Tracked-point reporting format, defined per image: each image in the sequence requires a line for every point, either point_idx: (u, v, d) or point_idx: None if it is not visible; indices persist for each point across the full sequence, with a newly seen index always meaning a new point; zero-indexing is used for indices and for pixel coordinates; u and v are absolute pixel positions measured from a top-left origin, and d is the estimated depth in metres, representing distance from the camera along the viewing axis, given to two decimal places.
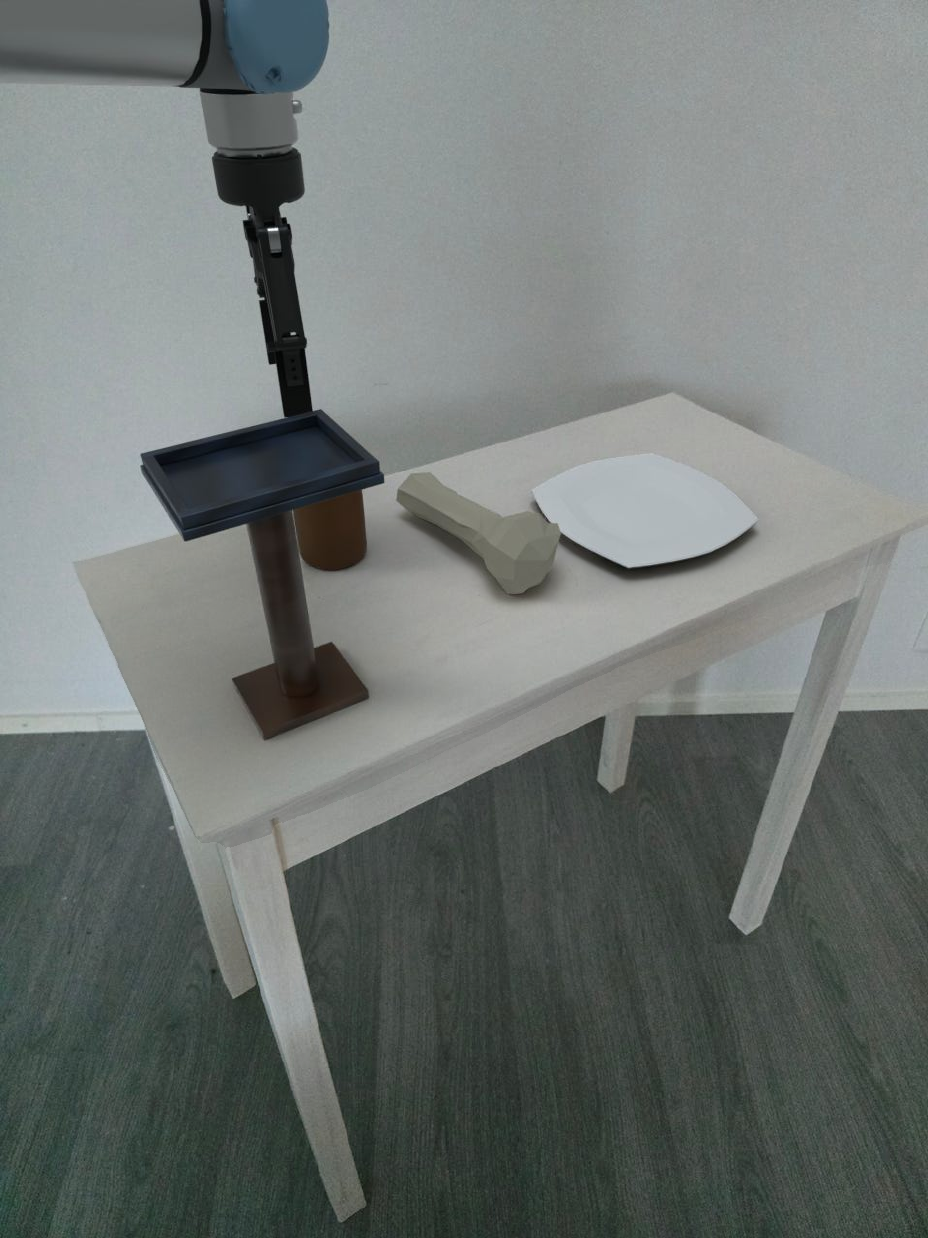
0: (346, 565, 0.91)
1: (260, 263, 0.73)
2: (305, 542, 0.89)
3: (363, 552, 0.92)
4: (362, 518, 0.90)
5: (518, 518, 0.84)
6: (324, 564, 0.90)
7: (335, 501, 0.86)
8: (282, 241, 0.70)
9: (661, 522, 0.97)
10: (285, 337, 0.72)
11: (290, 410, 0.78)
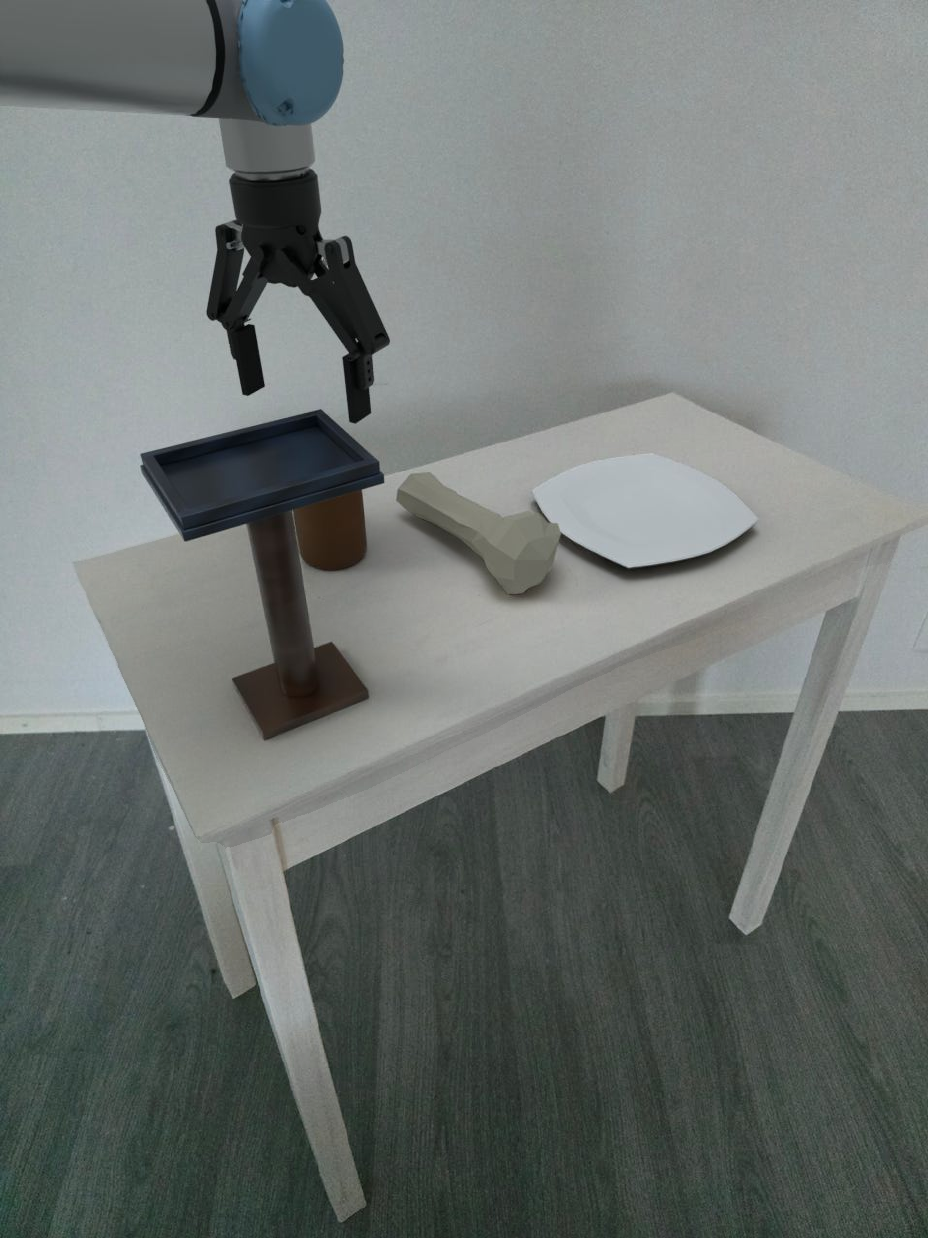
0: (346, 565, 0.91)
1: (310, 280, 0.74)
2: (305, 542, 0.89)
3: (363, 552, 0.92)
4: (362, 518, 0.90)
5: (518, 518, 0.84)
6: (324, 564, 0.90)
7: (335, 501, 0.86)
8: (349, 251, 0.73)
9: (661, 522, 0.97)
10: (375, 339, 0.75)
11: (358, 415, 0.81)
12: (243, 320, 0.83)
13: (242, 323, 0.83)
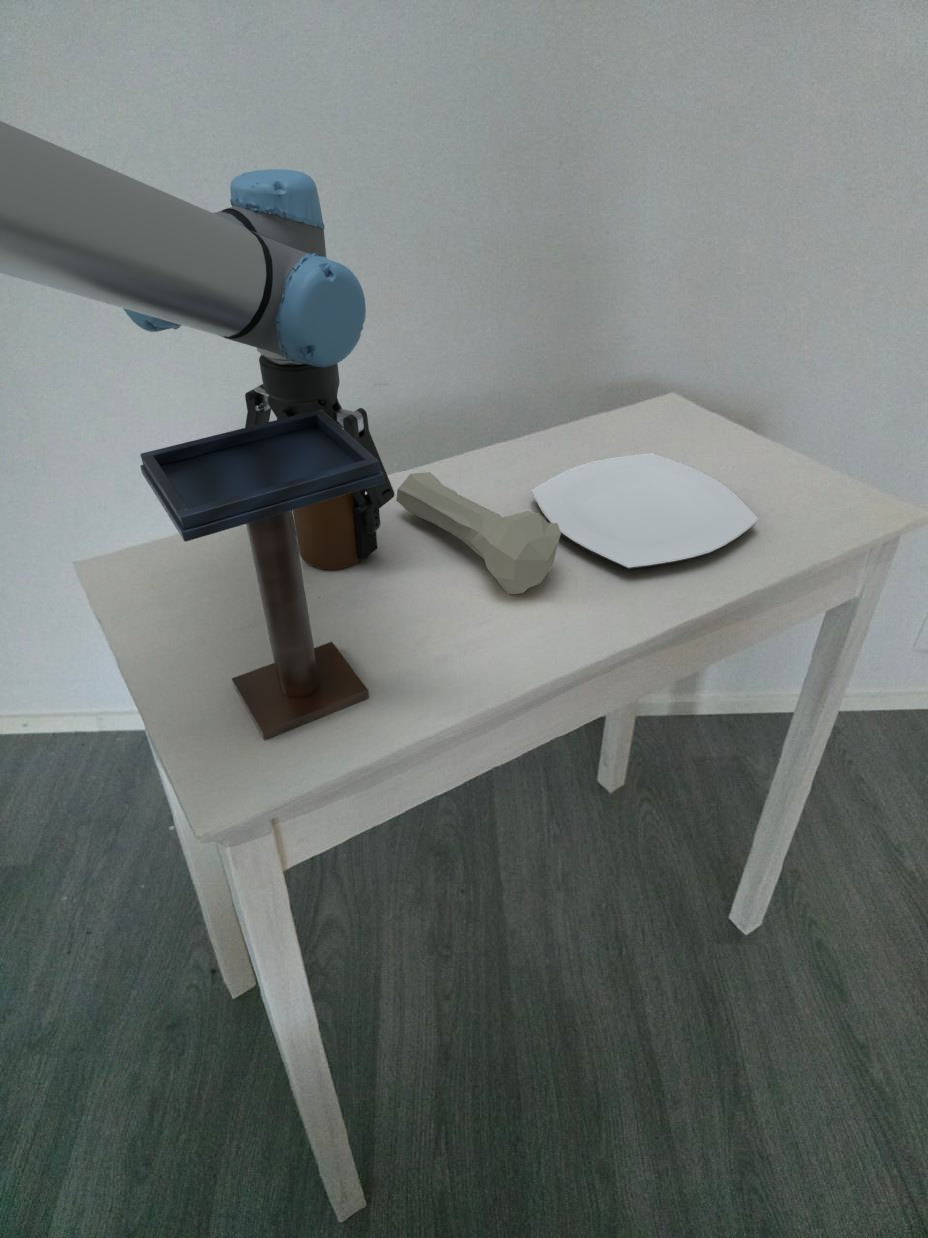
0: (346, 565, 0.91)
1: None
2: (305, 542, 0.89)
3: None
4: None
5: (518, 518, 0.84)
6: (324, 564, 0.90)
7: (335, 501, 0.86)
8: (364, 422, 0.83)
9: (661, 522, 0.97)
10: (382, 495, 0.85)
11: (366, 552, 0.91)
12: None
13: None
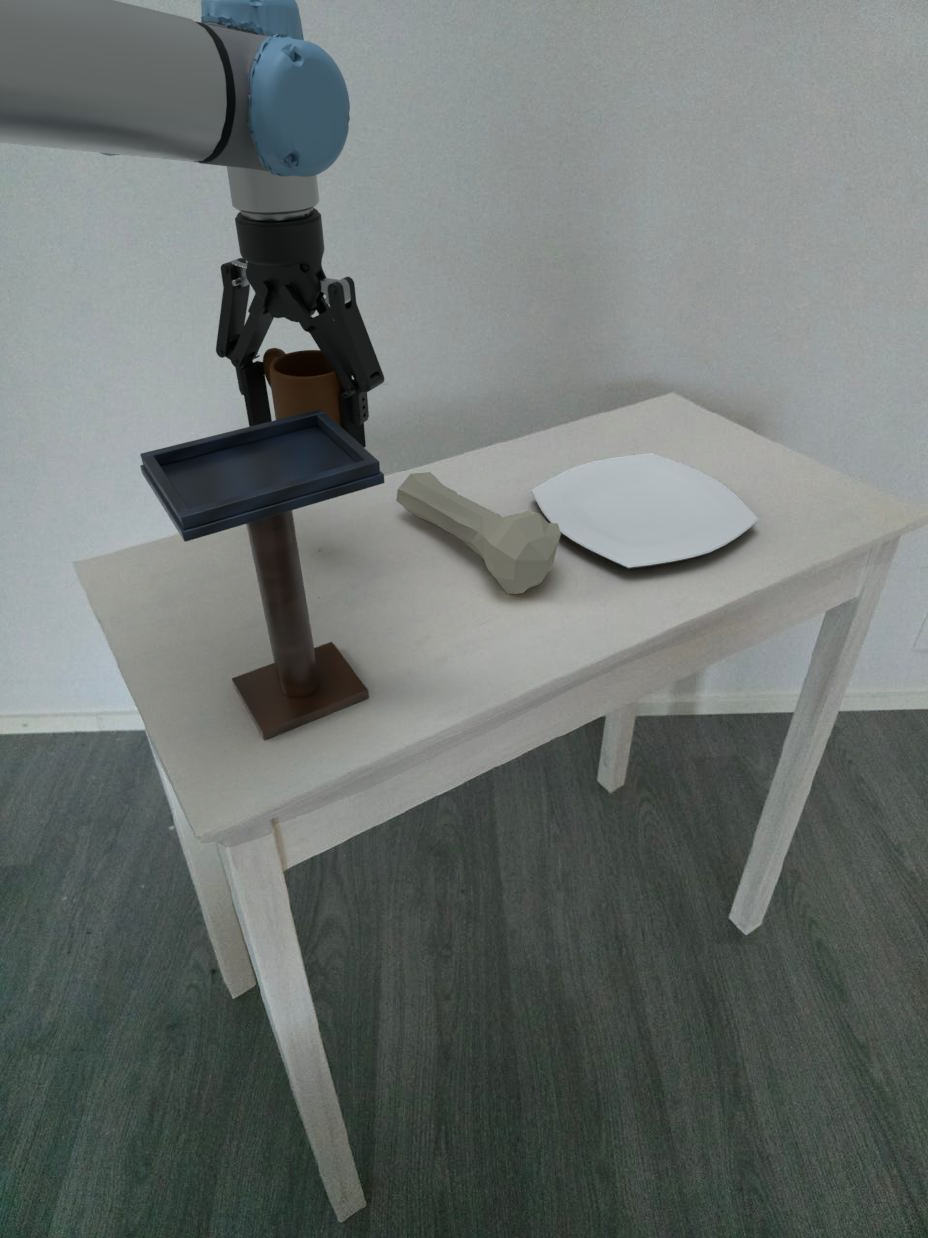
0: None
1: (311, 318, 0.76)
2: None
3: None
4: None
5: (518, 518, 0.84)
6: None
7: (319, 384, 0.78)
8: (351, 292, 0.75)
9: (661, 522, 0.97)
10: (370, 378, 0.78)
11: None
12: (252, 357, 0.85)
13: (251, 360, 0.85)
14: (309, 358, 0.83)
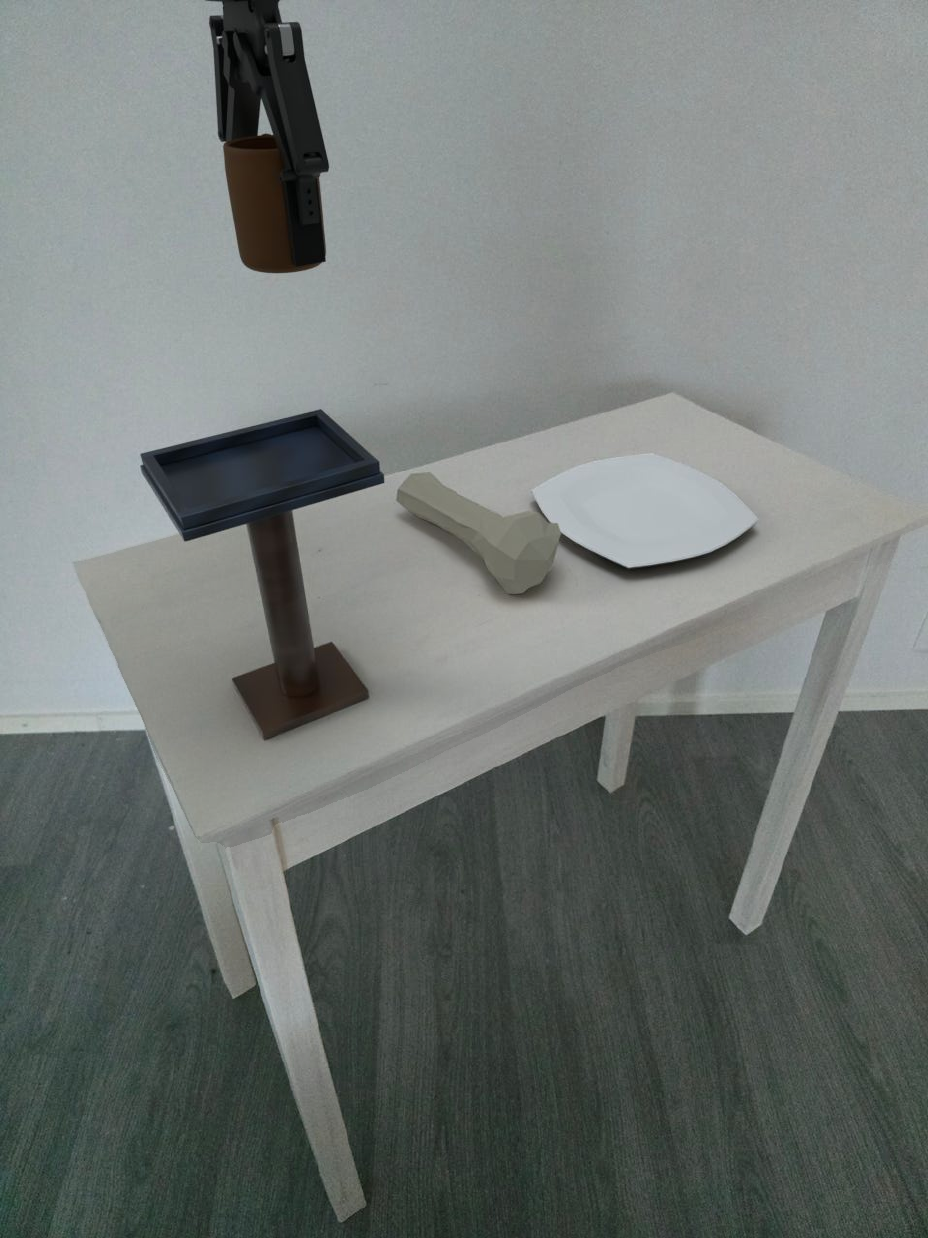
0: (277, 269, 0.71)
1: (259, 76, 0.64)
2: (235, 226, 0.71)
3: None
4: None
5: (518, 518, 0.84)
6: (250, 260, 0.71)
7: (257, 161, 0.66)
8: (295, 41, 0.61)
9: (661, 522, 0.97)
10: (306, 158, 0.64)
11: (302, 257, 0.70)
12: None
13: None
14: None
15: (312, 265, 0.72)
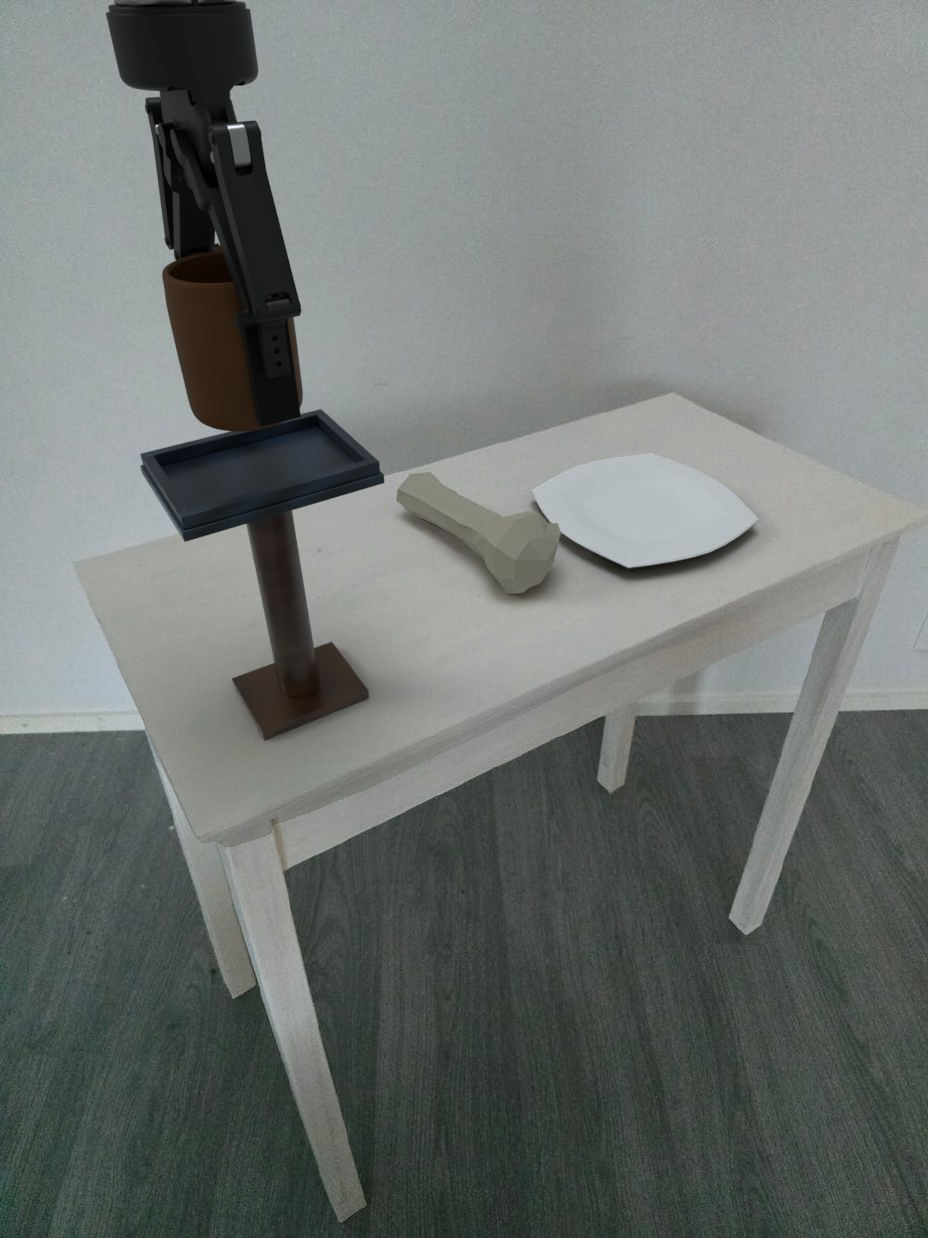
0: (236, 427, 0.54)
1: (206, 188, 0.47)
2: None
3: None
4: None
5: (518, 518, 0.84)
6: (202, 415, 0.54)
7: (205, 298, 0.49)
8: (252, 147, 0.44)
9: (661, 522, 0.97)
10: (269, 301, 0.47)
11: (269, 415, 0.53)
12: None
13: None
14: None
15: None
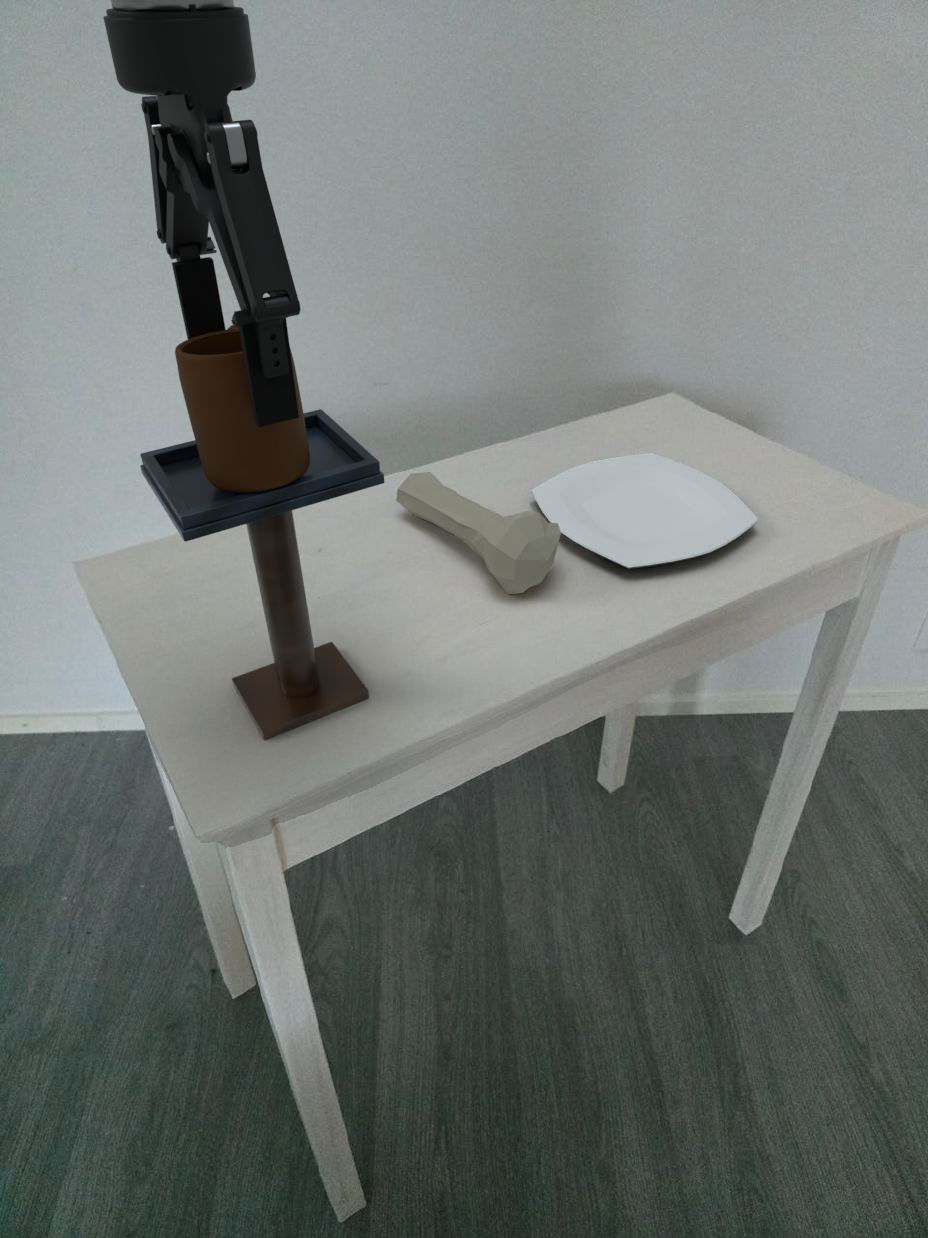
0: (246, 488, 0.57)
1: (203, 189, 0.47)
2: (195, 439, 0.57)
3: (283, 476, 0.57)
4: None
5: (518, 518, 0.84)
6: (215, 479, 0.57)
7: (213, 368, 0.52)
8: (248, 145, 0.44)
9: (661, 522, 0.97)
10: (268, 299, 0.46)
11: (267, 415, 0.52)
12: (199, 249, 0.58)
13: (196, 254, 0.58)
14: None
15: (291, 479, 0.58)
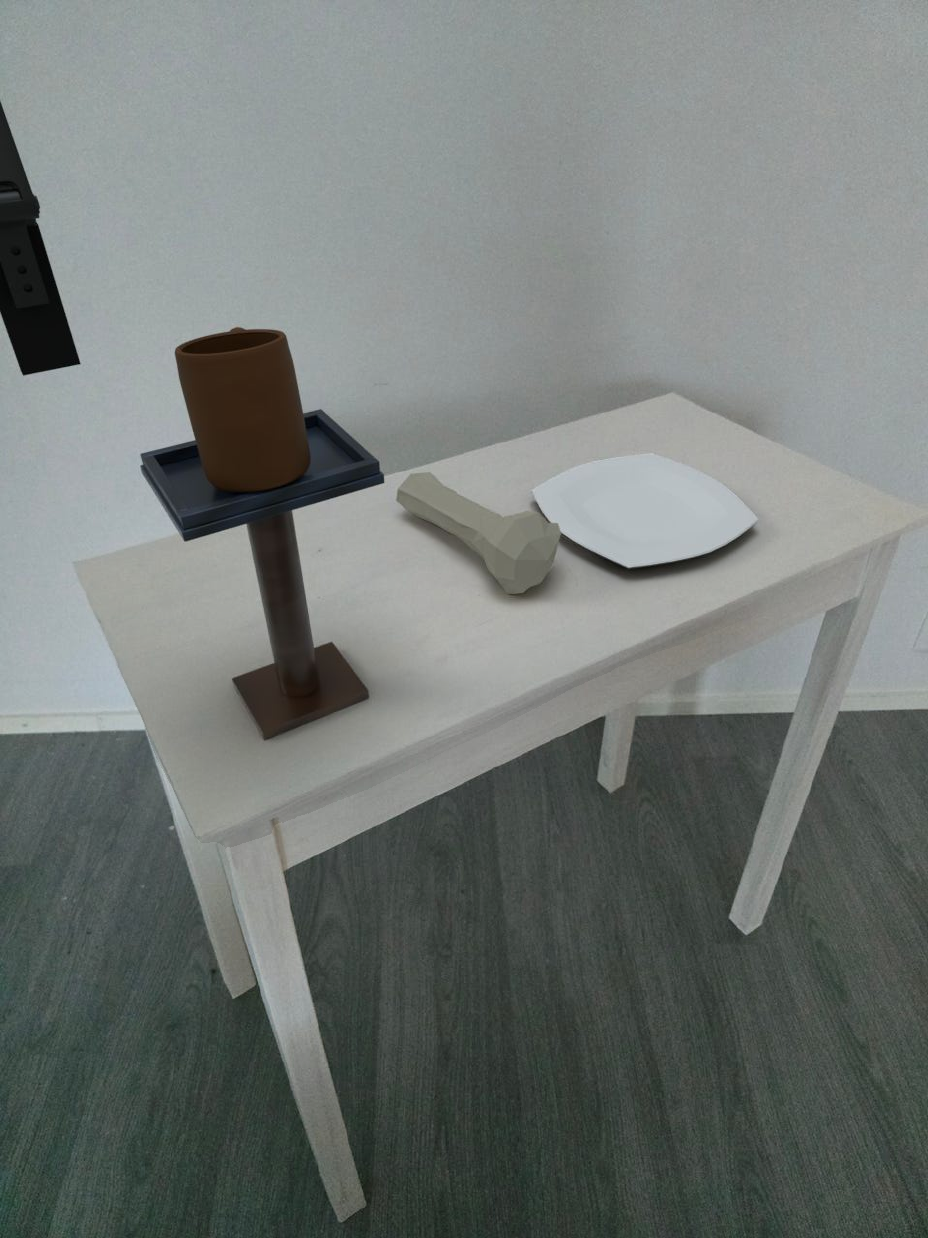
0: (246, 488, 0.57)
1: None
2: None
3: (282, 475, 0.57)
4: (276, 414, 0.55)
5: (518, 518, 0.84)
6: (215, 479, 0.57)
7: (211, 367, 0.52)
8: None
9: (661, 522, 0.97)
10: None
11: (32, 360, 0.40)
12: None
13: None
14: (262, 341, 0.58)
15: (291, 479, 0.58)
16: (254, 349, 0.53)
